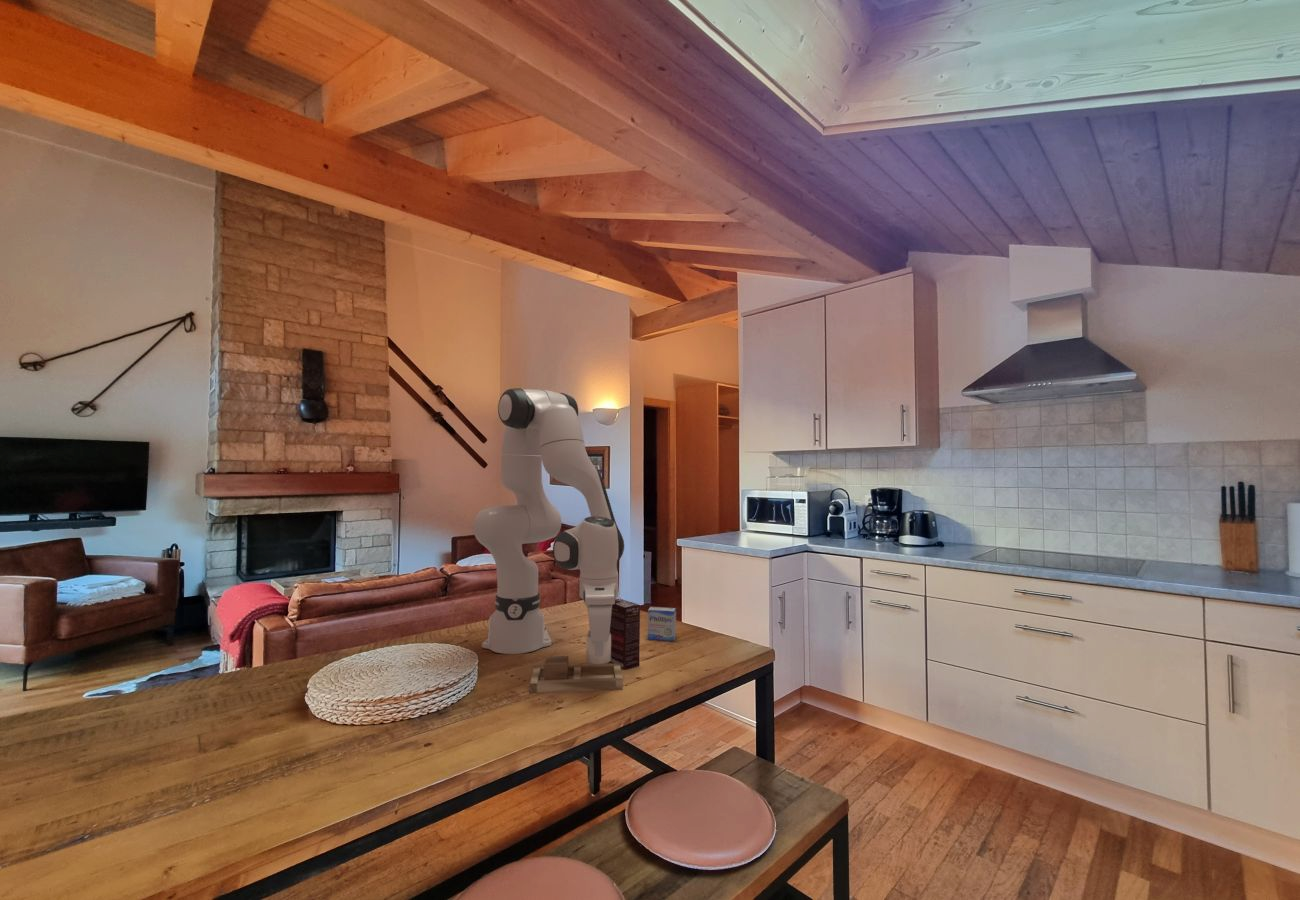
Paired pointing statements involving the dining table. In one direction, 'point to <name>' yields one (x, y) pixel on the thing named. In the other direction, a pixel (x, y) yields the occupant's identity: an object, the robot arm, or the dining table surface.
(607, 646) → the cream ceramic jar
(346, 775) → the dining table surface
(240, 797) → the dining table surface
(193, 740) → the dining table surface
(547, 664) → the walnut block
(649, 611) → the medicine box
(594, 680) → the organizer
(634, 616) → the supplement box
